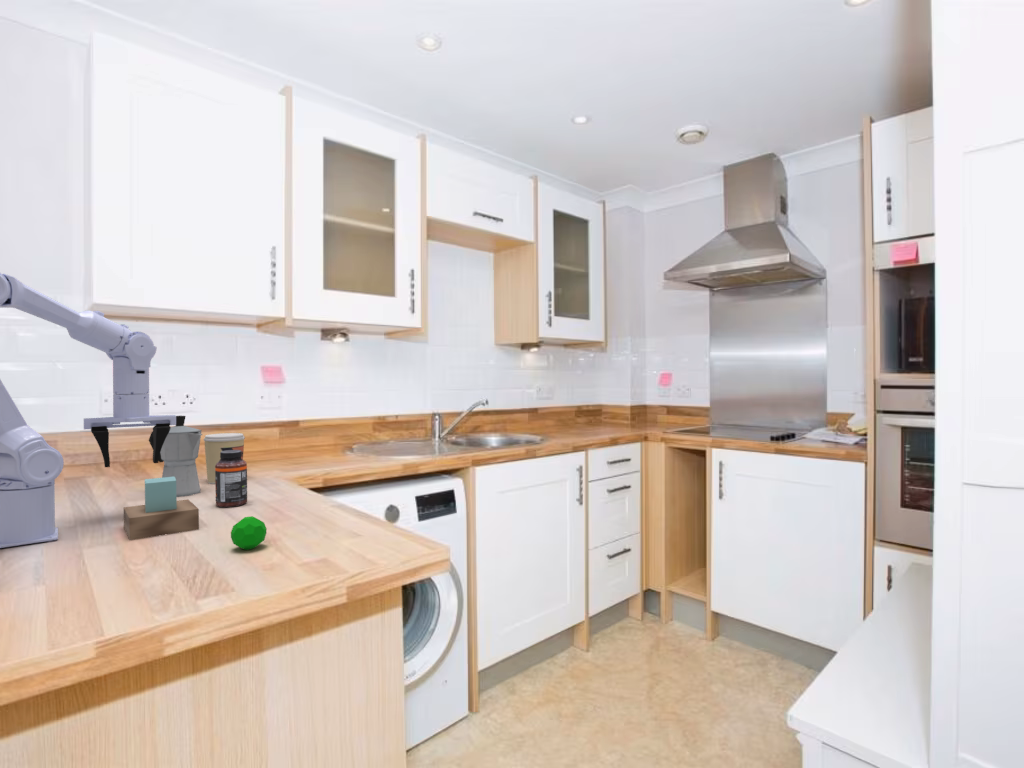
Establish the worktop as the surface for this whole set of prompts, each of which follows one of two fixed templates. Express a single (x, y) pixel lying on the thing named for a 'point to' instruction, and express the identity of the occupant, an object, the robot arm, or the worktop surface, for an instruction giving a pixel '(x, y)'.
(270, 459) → the worktop surface
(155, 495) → the teal block
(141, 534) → the walnut block
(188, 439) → the coffee maker
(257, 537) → the polyhedron
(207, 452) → the coffee cup
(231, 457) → the supplement bottle
